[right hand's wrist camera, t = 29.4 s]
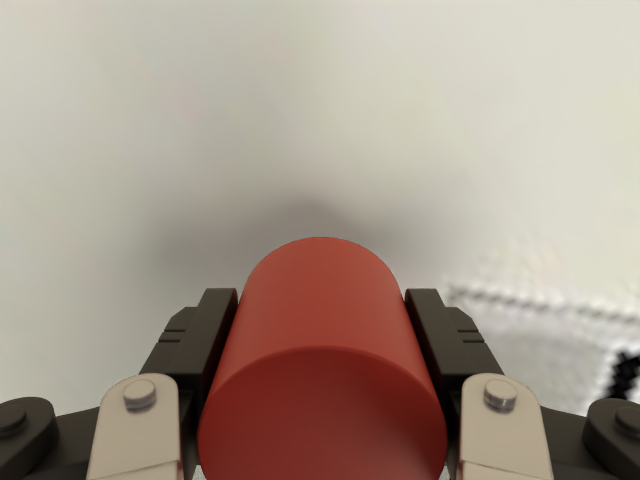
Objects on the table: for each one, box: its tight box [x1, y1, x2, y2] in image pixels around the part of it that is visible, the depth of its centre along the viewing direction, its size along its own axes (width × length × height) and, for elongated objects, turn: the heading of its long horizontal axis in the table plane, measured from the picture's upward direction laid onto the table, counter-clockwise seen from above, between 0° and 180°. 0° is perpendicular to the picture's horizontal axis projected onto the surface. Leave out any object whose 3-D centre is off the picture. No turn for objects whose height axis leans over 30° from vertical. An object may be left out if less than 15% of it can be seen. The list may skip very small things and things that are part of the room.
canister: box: [197, 237, 448, 480], centre depth 10 cm, size 4×4×5 cm
